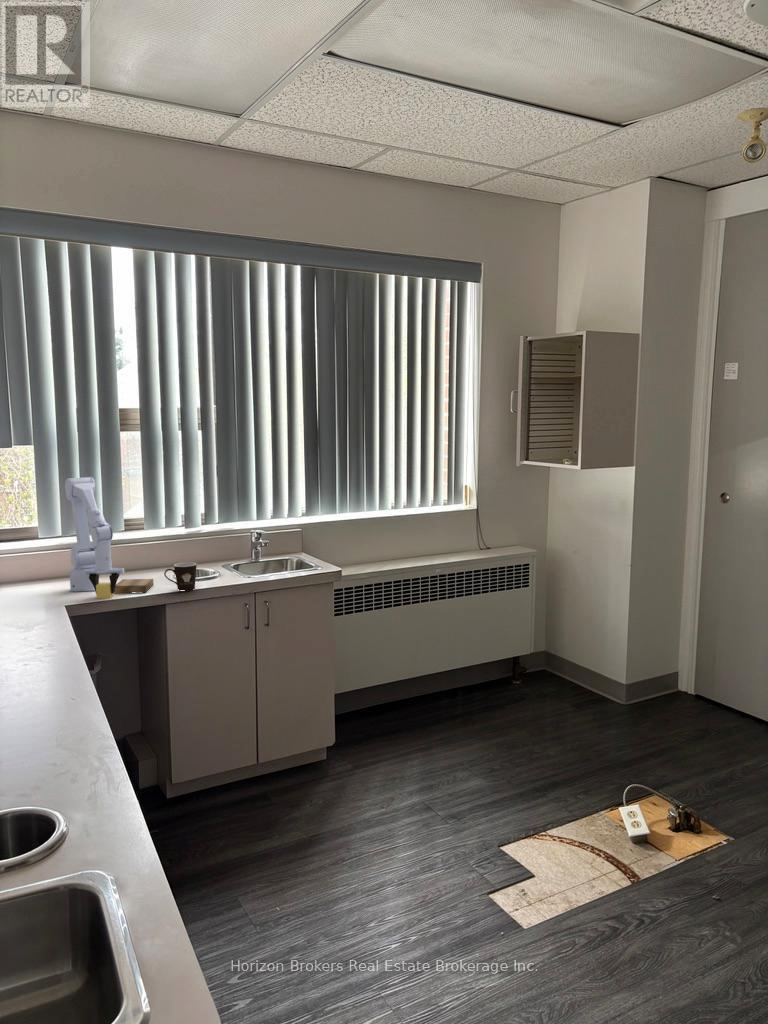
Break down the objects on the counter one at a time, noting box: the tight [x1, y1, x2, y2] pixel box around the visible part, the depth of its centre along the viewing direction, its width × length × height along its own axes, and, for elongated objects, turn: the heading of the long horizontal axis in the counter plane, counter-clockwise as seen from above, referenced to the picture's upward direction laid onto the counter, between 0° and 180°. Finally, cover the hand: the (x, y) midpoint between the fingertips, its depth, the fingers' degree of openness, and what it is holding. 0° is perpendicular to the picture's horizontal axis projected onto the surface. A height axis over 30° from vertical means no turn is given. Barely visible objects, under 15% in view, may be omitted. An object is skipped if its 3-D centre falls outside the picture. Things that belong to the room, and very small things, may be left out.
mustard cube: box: [95, 581, 115, 599], centre depth 291 cm, size 5×5×5 cm
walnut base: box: [114, 578, 154, 595], centre depth 302 cm, size 12×12×3 cm
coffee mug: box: [163, 562, 198, 592], centre depth 301 cm, size 12×9×10 cm
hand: (105, 593), depth 291 cm, fingers closed on mustard cube, 5 cm apart
